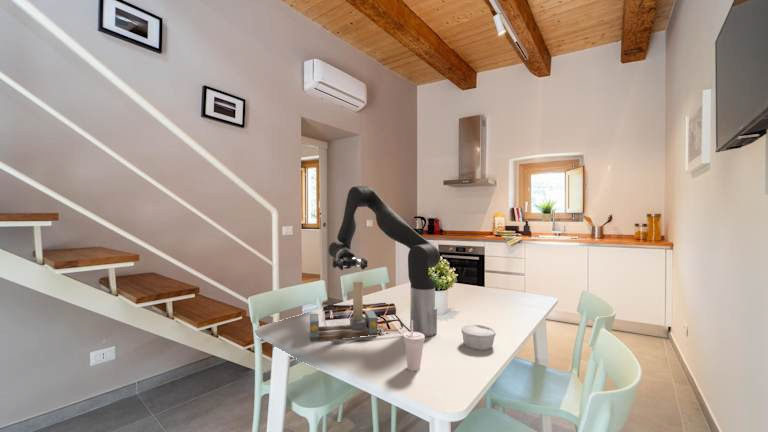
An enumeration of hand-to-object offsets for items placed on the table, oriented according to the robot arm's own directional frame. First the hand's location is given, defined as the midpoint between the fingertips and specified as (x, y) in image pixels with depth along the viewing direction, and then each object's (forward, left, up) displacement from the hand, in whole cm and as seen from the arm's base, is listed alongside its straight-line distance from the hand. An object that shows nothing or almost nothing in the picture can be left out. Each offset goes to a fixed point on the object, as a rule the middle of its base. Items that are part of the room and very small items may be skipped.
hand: (353, 267), depth 137 cm
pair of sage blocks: (+5, +9, -23) cm, 25 cm away
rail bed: (+5, +9, -23) cm, 25 cm away
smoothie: (-13, +40, -23) cm, 48 cm away
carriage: (-1, +9, -20) cm, 22 cm away
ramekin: (-40, +28, -24) cm, 54 cm away
